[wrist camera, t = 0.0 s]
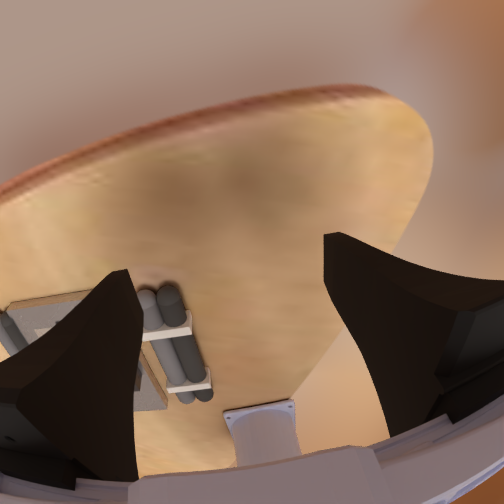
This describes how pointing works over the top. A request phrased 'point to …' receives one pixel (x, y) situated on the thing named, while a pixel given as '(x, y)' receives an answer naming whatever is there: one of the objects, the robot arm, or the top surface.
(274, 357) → the top surface
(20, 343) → the cord bundle
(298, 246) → the top surface
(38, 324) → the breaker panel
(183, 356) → the cord bundle
